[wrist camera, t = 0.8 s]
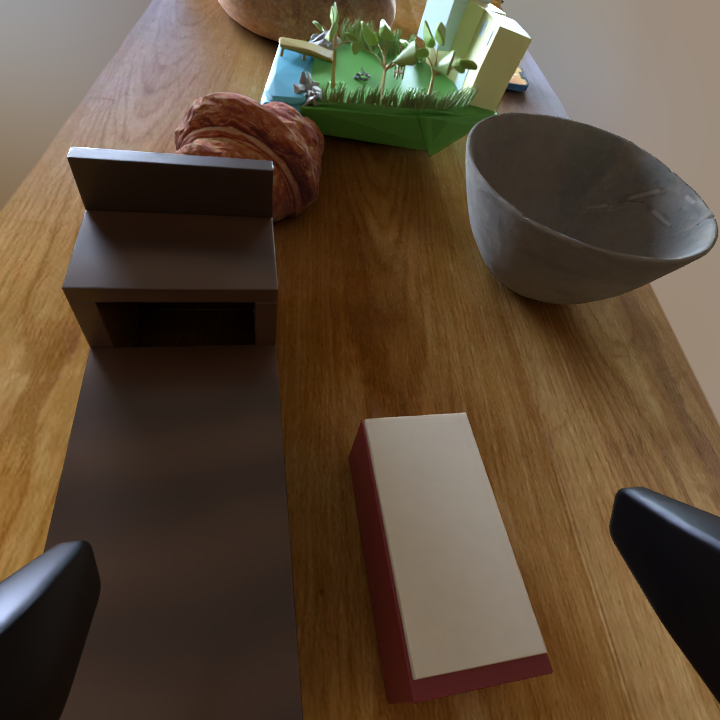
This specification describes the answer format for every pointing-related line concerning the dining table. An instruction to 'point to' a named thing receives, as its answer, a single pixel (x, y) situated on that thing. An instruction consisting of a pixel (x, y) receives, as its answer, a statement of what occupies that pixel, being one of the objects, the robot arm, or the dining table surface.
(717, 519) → the robot arm
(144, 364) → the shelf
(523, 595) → the red white box
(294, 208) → the pastry
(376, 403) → the dining table surface
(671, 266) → the bowl
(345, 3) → the bread
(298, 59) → the toy landscape diorama
